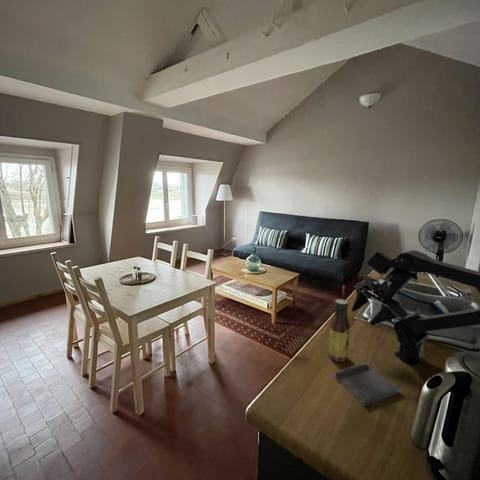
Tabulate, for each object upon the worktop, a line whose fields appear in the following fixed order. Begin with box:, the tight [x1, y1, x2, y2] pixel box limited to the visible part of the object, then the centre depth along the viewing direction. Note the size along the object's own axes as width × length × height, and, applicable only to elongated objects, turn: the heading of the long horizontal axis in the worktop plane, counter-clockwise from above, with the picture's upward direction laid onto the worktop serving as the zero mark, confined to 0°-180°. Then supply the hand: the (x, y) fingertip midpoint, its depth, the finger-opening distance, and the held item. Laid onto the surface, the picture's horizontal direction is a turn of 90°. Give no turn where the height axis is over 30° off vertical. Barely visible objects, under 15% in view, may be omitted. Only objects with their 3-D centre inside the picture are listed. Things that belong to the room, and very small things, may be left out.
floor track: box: [333, 361, 402, 407], centre depth 76 cm, size 13×12×2 cm
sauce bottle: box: [328, 298, 351, 363], centre depth 87 cm, size 6×6×20 cm
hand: (361, 317), depth 88 cm, fingers open, 9 cm apart
